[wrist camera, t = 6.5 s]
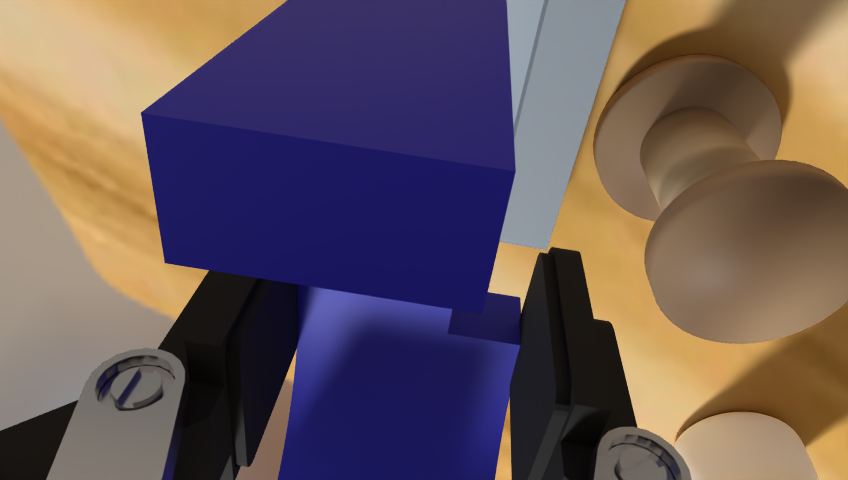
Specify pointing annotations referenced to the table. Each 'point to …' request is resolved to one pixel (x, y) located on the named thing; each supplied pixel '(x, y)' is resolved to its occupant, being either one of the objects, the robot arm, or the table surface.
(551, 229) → the notched board
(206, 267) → the cable clip
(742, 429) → the water bottle
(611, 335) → the robot arm
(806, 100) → the table surface
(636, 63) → the table surface
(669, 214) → the door knob
